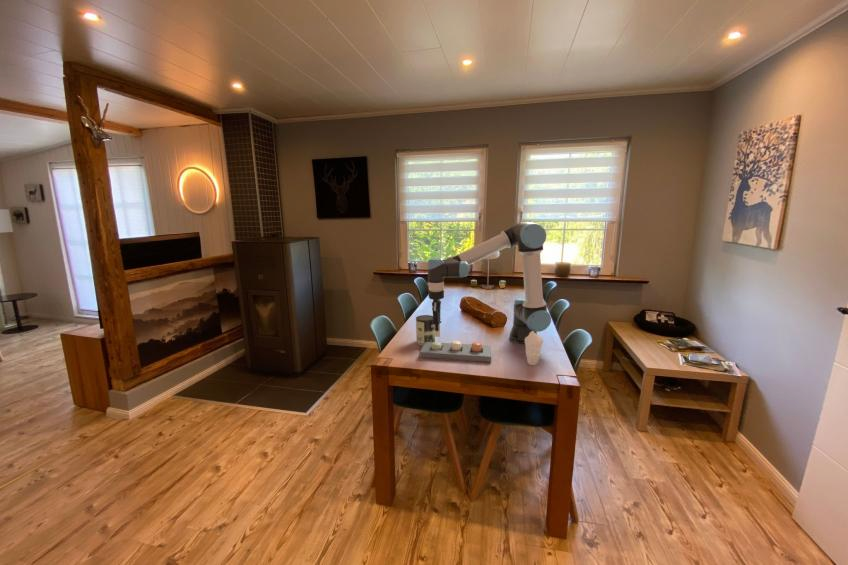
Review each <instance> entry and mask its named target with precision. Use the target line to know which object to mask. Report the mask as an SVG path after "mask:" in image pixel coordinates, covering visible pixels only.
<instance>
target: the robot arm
mask: <svg viewBox="0 0 848 565" xmlns="http://www.w3.org/2000/svg"><path fill="white" fill-rule="evenodd" d="M546 240H547V233H546V230H545V228H544V226H542V225H541V224H539V223H537V222H533V221H532V222H531V221H527V222H526V221H521V222H518V223H516V224H514V225H511V226H510V227H507V228H505V229H503V230H502V231H501V232H500V233H499V234H498V235H496V236H494V237H491V238H489V239H488V240H486V241H483V242H481V243H480V244H477V245H475V246H472V247H471V248H469V249H466V250H464V251H463V252H460V253H459V254H457V255H454V256H450V257H447V258H445V259H443V258H440V257H432V258H429V259H428V260H427V279H428V280H427V286H428V298H429V300H432V302H431V306H432V307H431V310H432V316H433V324H434V337H435V338H441V323H442V321H441V308H442V307H441V305H442V301H441V300H442V299H444V298H445V291H444V290H445V282H444V281H445V280H444V279H446V278H448V279H449V278H464V277H468V275H469V271H470V270H469V269H470V268H469V267H470V265H473V264H474V263H475V264H476V262H479V261H480V260H483V259H486V258H487V257H489V256H491V255H493V254H496V253H498V252H500V251H502V250H504V249H506V248H508V249H510V248H513V247H517V251H518V253H519V254H520V255H521V260H522V262H521V264H522V273H523V274H522V275H523V289H524V290H523V291H524V297H522V298H515V299H514V301H513V319H512V320H513V321H512V323H513V324H512V327H511V329H510V332H509V336H508V338H509V340H510V341H512V342H514V343H517V344H521V345H522V344H524V345H525V343H524V342H525V340H524V339H525V337H527V336H528V335H529V333H530V332H531V331H534V333H536V334H537V335H538V333H537V332H543V331H545V330H547V329H548V327H549V326H550V325H551V323H552V322H551V321H552V317H551V314H550V312H548V309H547V308H548V306H547V302H546V301H545V300H544V294H543V293H544V292H543V281H542V280H543V277H542V263H541V253H542V252H543V251H544V243H545V242H546Z"/></svg>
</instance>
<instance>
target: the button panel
mask: <svg viewBox="0 0 848 565" xmlns="http://www.w3.org/2000/svg"><path fill="white" fill-rule="evenodd" d="M432 343H433V342H425V343H424V345H422V347H421V350H420V352H419V356H420V357H419V358H420V359H428V360H429V359H431V360H443V361H444V360H446V361H459V362H460V361H461V362H477V363H492V345H488V344H482V352H481V353H478V352H471V349H472V343H471V344H468V343H461V351H451V342H450V343H449V342H440V343H441V350H431V344H432Z"/></svg>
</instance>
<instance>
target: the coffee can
mask: <svg viewBox="0 0 848 565" xmlns="http://www.w3.org/2000/svg"><path fill="white" fill-rule="evenodd" d="M415 323H416V324H415V327H416V329H415V331H416V341H415V342H416V344H417V345H419V346H423V345H424V343H425V342H436V337H434V324H433V315H431V314H422V315H421V314H420V315H417V316H416V317H415Z"/></svg>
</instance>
